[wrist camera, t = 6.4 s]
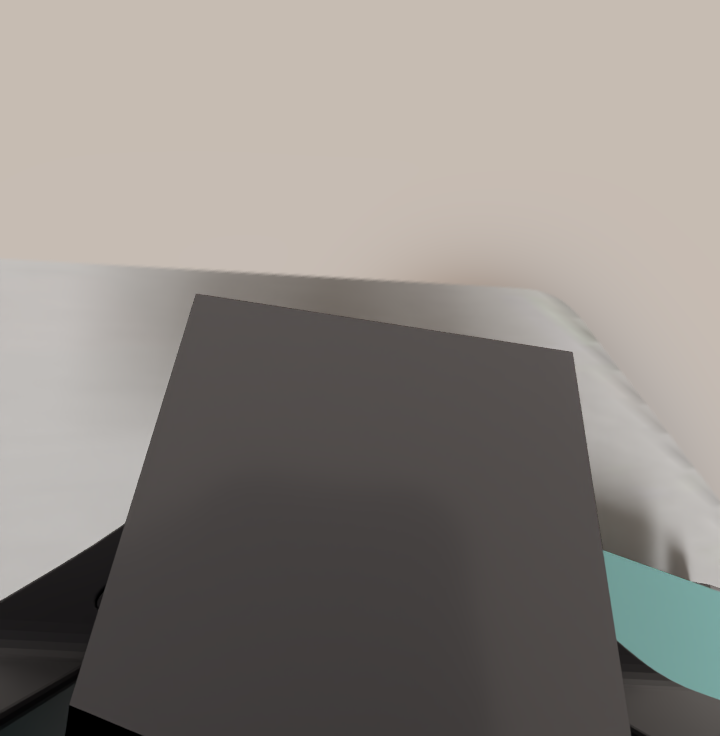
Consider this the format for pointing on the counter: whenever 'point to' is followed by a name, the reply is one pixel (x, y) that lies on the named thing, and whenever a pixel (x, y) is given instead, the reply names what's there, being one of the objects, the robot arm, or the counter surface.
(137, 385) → the counter surface
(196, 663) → the gray metal handle
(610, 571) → the trapdoor
